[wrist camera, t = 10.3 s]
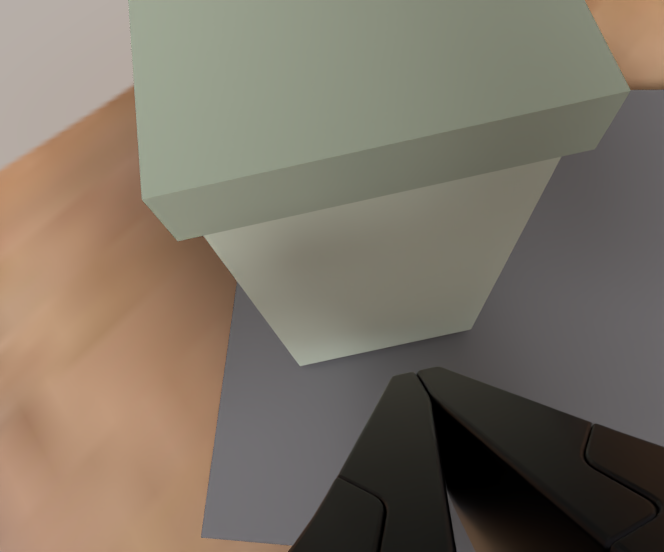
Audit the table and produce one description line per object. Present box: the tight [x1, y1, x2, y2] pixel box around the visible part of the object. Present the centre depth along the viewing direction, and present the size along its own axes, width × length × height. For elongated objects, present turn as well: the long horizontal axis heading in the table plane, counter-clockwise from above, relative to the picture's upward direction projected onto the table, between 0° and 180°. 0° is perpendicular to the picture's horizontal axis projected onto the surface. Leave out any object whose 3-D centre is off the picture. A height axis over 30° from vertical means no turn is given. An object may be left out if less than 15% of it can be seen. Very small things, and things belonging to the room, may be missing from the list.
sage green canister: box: [128, 0, 631, 366], centre depth 13 cm, size 6×6×11 cm
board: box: [201, 90, 664, 552], centre depth 17 cm, size 28×16×1 cm, turn 86°
